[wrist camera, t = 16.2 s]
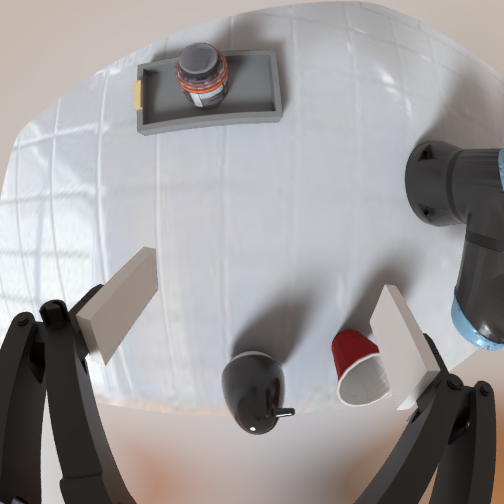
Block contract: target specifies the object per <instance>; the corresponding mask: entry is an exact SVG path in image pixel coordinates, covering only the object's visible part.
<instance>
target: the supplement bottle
mask: <svg viewBox="0 0 504 504" xmlns="http://www.w3.org/2000/svg"><path fill="white" fill-rule="evenodd" d="M175 77H176V79H177V81H178V83H179V85H180V87H181V88H182V90H183V92H184V94H185V96H186V98H187V99H188V100H189V102H190V103H191V104H193V105H194V106H196V107H200V108H211V107H214V106H216V105H218V104H220V103H221V102H222V101H223V100H224V98H225V97H226V95H227V92H228V64H227V61H226V58H225V57H224V55H223V54H222V53H221V52H220V51H218V50H216V49H215V48H214V47H212V46H211V45H209V44H206V43H195V44H192V45H190V46H188V47H187V48H185V49H184V50H183V51H182V53H181V54H180V57H179V60H178V61H177V63H176V66H175Z"/></svg>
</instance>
